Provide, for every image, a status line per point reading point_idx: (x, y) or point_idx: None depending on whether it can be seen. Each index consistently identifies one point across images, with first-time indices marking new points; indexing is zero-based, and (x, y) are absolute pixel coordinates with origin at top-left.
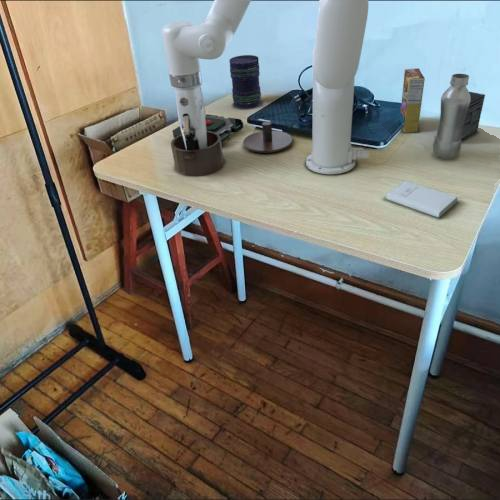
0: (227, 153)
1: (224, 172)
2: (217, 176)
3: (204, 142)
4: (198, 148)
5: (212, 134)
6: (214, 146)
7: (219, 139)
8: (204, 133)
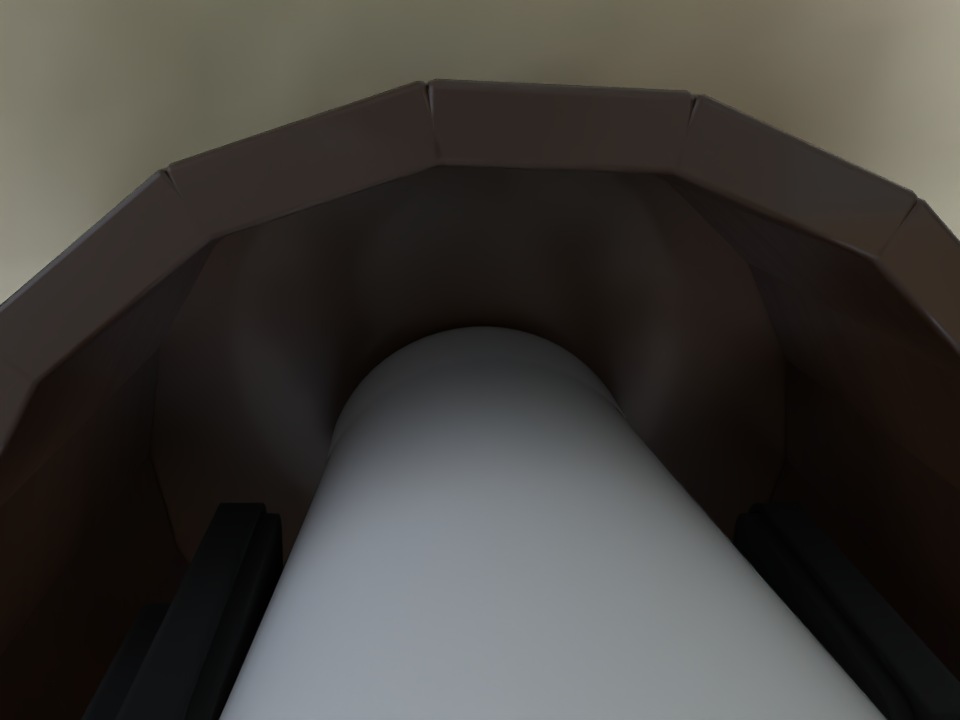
0: (71, 49)
1: (778, 27)
2: (882, 127)
3: (671, 502)
4: (849, 573)
5: (55, 382)
6: (923, 207)
7: (546, 106)
8: (747, 629)
